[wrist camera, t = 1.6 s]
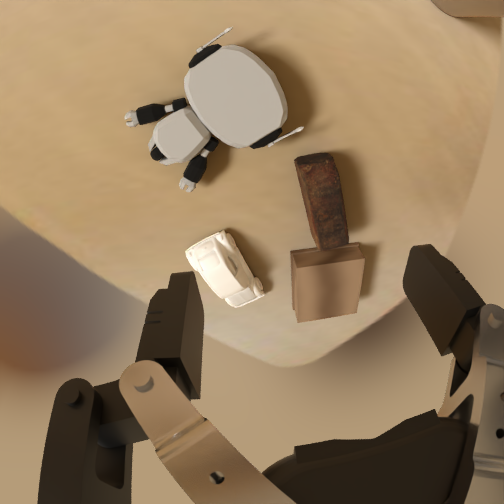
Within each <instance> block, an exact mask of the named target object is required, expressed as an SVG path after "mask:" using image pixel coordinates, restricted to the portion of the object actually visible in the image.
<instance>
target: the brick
mask: <svg viewBox="0 0 504 504" xmlns="http://www.w3.org/2000/svg"><path fill="white" fill-rule="evenodd" d="M294 161H295V166H296V171H297V175H298V179H299V183H300V187H301V192H302V196H303V200H304V204H305V208H306V213H307V217H308V221H309V226H310V230H311V234H312V237H313V239H314V241H315V243H316V246H317V248H318V249H319V251H321V252H325V251H328V250H331V249H334V248H337V247H341V246H344V245H347V244H349V236H348V229H347V221H346V215H345V208H344V202H343V195H342V190H341V184H340V179H339V174H338V171H337V168H336V165H335V163H334V159H333V157H332V156H331V155H330V154H328V153H317V154H311V155H307V156H300V157H297V158H296V159H295V160H294Z"/></svg>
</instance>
